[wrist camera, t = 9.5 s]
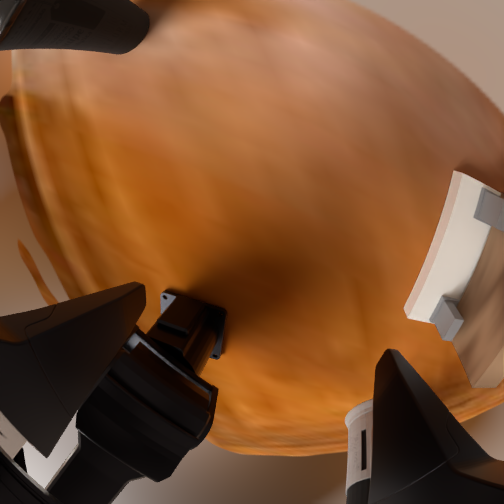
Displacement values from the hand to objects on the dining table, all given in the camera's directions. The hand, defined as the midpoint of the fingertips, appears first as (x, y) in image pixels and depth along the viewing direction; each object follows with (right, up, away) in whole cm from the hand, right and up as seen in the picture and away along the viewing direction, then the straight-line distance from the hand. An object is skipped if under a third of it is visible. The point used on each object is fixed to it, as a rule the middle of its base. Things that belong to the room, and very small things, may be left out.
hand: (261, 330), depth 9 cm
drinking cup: (-11, +22, +7) cm, 26 cm away
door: (+18, +1, +6) cm, 19 cm away
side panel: (+19, +2, +8) cm, 20 cm away
